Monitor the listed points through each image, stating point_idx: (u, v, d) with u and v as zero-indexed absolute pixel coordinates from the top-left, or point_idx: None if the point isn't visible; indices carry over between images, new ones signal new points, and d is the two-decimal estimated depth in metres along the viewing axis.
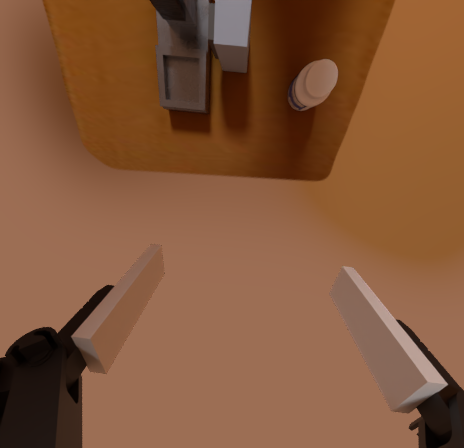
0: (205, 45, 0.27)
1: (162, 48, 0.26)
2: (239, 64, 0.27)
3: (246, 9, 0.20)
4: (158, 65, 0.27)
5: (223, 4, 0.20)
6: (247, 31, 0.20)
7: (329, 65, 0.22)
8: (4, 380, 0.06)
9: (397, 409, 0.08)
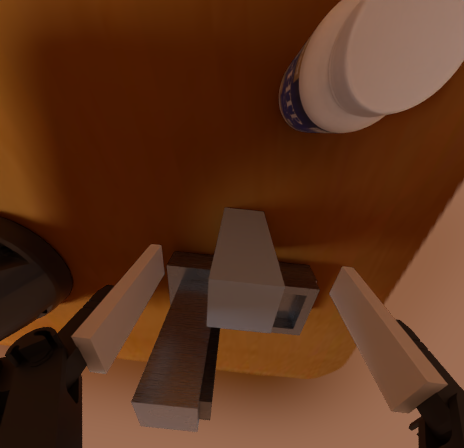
0: None
1: None
2: None
3: (226, 287, 0.09)
4: None
5: (219, 318, 0.11)
6: (259, 286, 0.09)
7: (376, 14, 0.05)
8: (4, 380, 0.06)
9: (397, 409, 0.08)
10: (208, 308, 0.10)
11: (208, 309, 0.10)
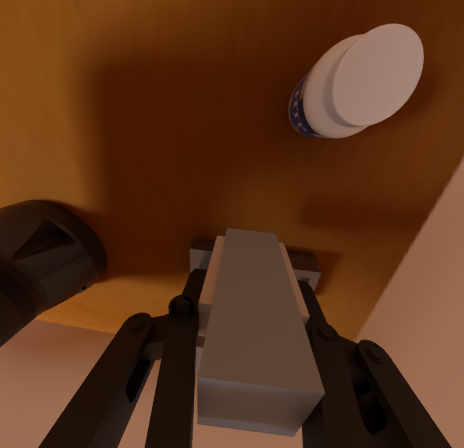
0: None
1: None
2: None
3: (226, 387, 0.06)
4: None
5: (215, 417, 0.07)
6: (282, 390, 0.06)
7: (351, 63, 0.08)
8: (153, 343, 0.07)
9: None
10: (199, 407, 0.07)
11: (199, 408, 0.07)
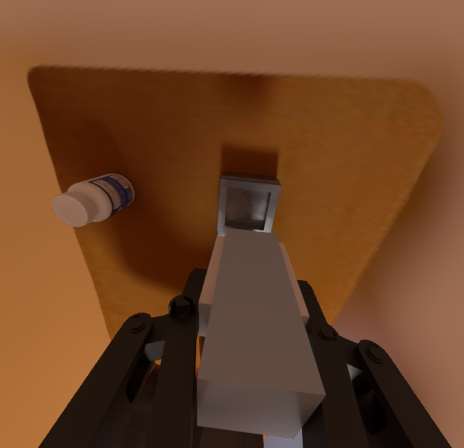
0: (219, 232, 0.27)
1: None
2: None
3: (226, 389, 0.06)
4: (271, 222, 0.24)
5: (215, 419, 0.07)
6: (282, 391, 0.06)
7: (69, 222, 0.20)
8: (153, 343, 0.07)
9: None
10: (198, 409, 0.07)
11: (198, 410, 0.07)
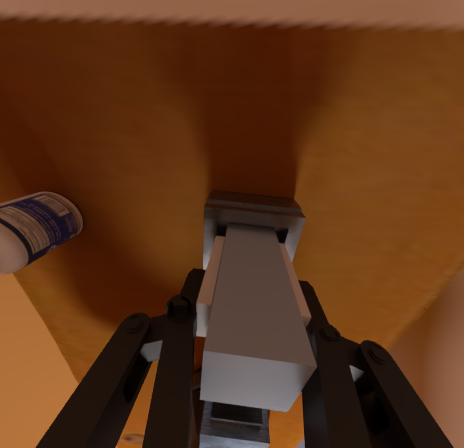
0: None
1: None
2: None
3: (228, 361, 0.06)
4: None
5: (217, 392, 0.08)
6: (279, 363, 0.06)
7: None
8: (151, 343, 0.07)
9: None
10: (202, 381, 0.07)
11: (202, 383, 0.07)
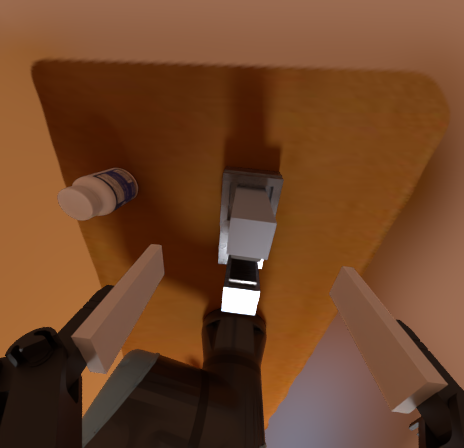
0: (222, 227, 0.27)
1: None
2: None
3: (240, 223, 0.15)
4: None
5: (234, 247, 0.17)
6: (261, 222, 0.15)
7: (74, 215, 0.21)
8: (4, 380, 0.06)
9: (397, 409, 0.08)
10: (228, 239, 0.16)
11: (228, 240, 0.16)
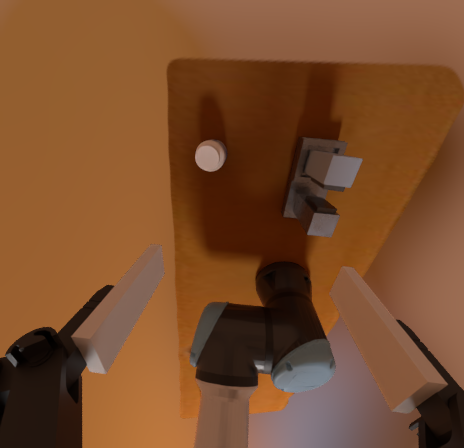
0: (292, 184, 0.36)
1: None
2: None
3: (339, 159, 0.24)
4: None
5: (330, 178, 0.25)
6: (352, 158, 0.24)
7: (203, 166, 0.29)
8: (4, 380, 0.06)
9: (397, 409, 0.08)
10: (327, 172, 0.25)
11: (327, 173, 0.25)
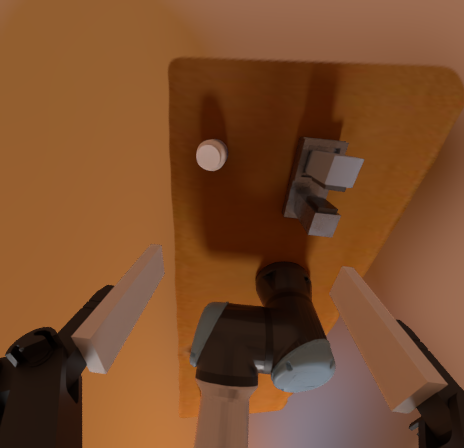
0: (293, 184, 0.36)
1: None
2: None
3: (340, 159, 0.24)
4: None
5: (331, 178, 0.25)
6: (354, 158, 0.24)
7: (204, 166, 0.29)
8: (4, 380, 0.06)
9: (397, 409, 0.08)
10: (329, 172, 0.25)
11: (329, 173, 0.25)
